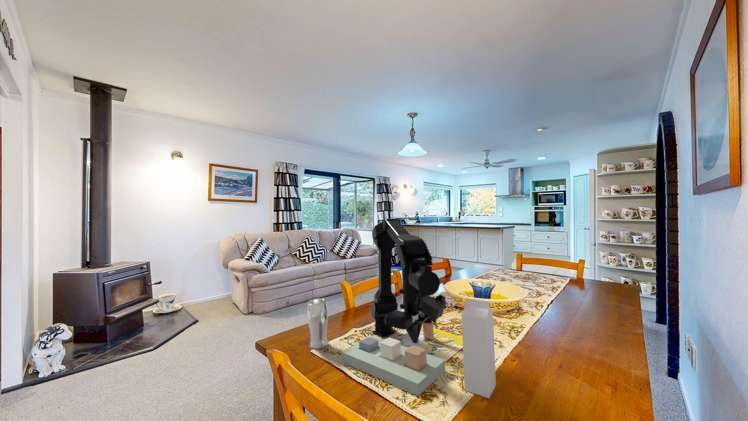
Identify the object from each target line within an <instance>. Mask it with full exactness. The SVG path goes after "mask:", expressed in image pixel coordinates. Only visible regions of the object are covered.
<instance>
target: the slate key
mask: <svg viewBox="0 0 748 421" xmlns="http://www.w3.org/2000/svg"><path fill="white" fill-rule="evenodd" d="M358 343H359V349H360V350H363V351H366V352H368V353H371V352H372V351H374V350H376V349H377V348H379V345H378V340H376V339H373V338H370V336H367V337H365V338H363V339H361V340H359V342H358Z"/></svg>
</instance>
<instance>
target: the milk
mask: <svg viewBox="0 0 748 421" xmlns="http://www.w3.org/2000/svg"><path fill="white" fill-rule="evenodd" d="M464 302H465V305H464V307H463V310H462V313H461V332H462V356H463V359H462V360H463V385H464V388H463V389H464V391H467V392H468V393H472V394H474V395H478V396H481V397H483V398H487V399H490V398H491V396H492V394H493V393H494V391H495V388H496V386H497V385H496V384H497V383H496V360H495V359H496V358H495V357H496V355H495V354H496V353H495V328H494V327H495V326H494V310H492V308H490V306H491V305H490V302H489V301H486V300H480V299H474V298H473V299H472V298H465V301H464Z"/></svg>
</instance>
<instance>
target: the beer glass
mask: <svg viewBox="0 0 748 421" xmlns="http://www.w3.org/2000/svg"><path fill="white" fill-rule="evenodd" d="M306 311H307V312H306V313H307V314H306V315H307V323H308V327H309V333H310V342H309V347H310V348H311V349H312V350H313V349H314V350H320V349H321V350H322V349H324V348H326V347H328V344H329V343H328V342H329V341H328V337H327V328H328V323H329V322H328V321H329V308H328V300H327V299H326V298H320V297H319V298H313V299H309V300H308V301H307V310H306Z"/></svg>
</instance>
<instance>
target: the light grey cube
mask: <svg viewBox="0 0 748 421" xmlns="http://www.w3.org/2000/svg"><path fill="white" fill-rule="evenodd" d="M383 340H384V341H382V342H381V343H380V349H381V358H384V359H386V360H389V361H391V362H393V361H395V360H396V359H398V358H399V357H401V346H402V344H401V340H398V339H395V338H392V337H386V338H385V339H383Z"/></svg>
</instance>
